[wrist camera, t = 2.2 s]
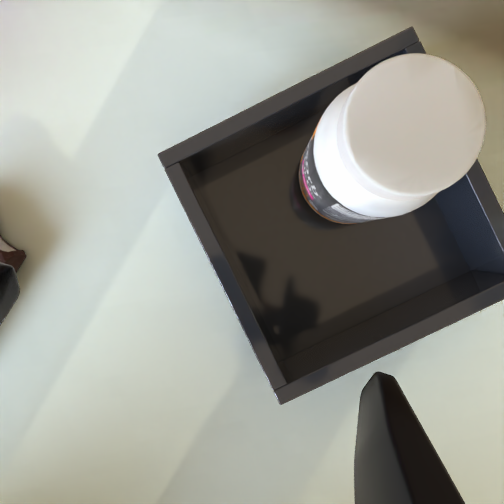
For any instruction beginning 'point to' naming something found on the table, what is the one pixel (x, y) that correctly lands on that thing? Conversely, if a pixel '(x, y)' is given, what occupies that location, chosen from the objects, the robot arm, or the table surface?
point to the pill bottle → (393, 140)
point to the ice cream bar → (11, 255)
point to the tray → (330, 240)
